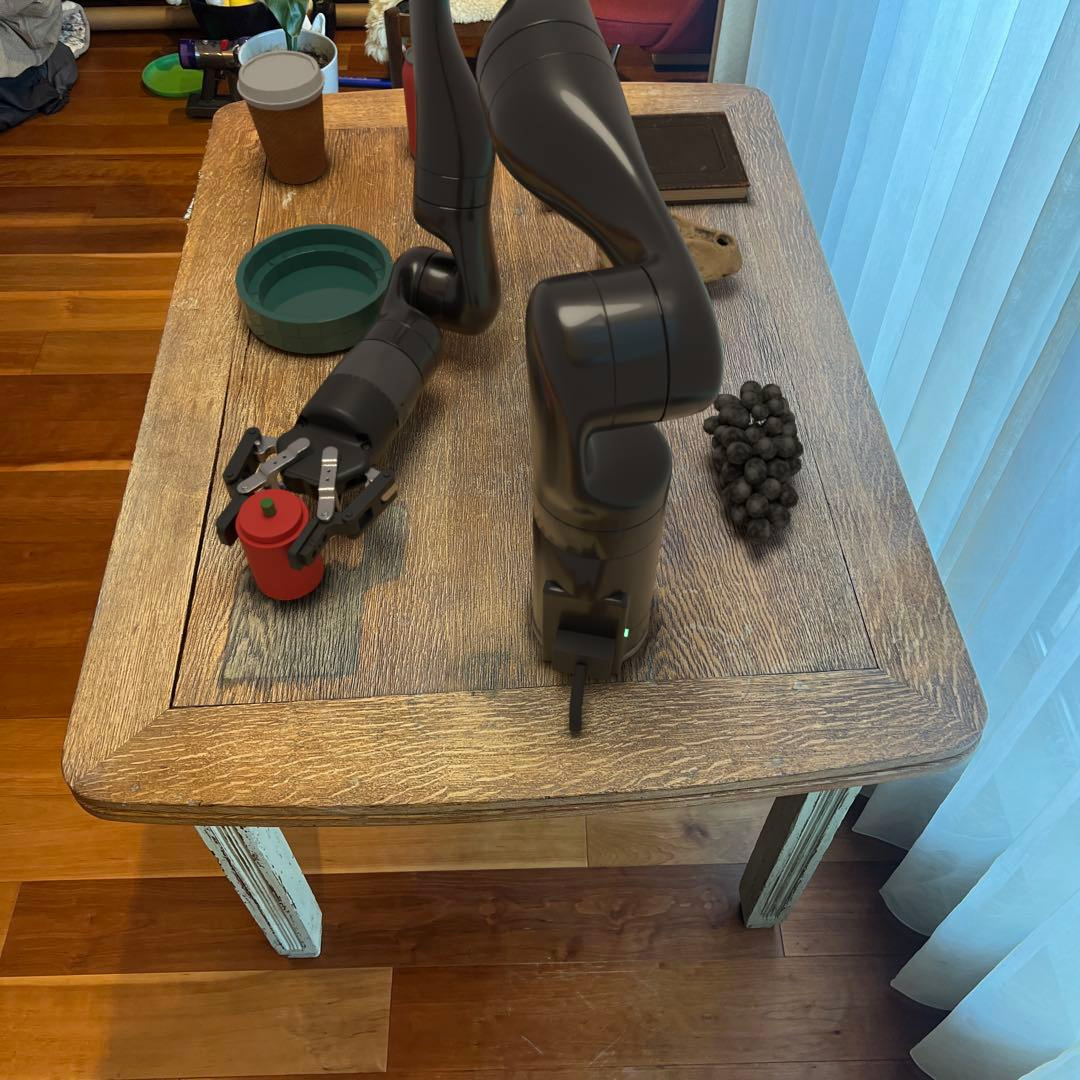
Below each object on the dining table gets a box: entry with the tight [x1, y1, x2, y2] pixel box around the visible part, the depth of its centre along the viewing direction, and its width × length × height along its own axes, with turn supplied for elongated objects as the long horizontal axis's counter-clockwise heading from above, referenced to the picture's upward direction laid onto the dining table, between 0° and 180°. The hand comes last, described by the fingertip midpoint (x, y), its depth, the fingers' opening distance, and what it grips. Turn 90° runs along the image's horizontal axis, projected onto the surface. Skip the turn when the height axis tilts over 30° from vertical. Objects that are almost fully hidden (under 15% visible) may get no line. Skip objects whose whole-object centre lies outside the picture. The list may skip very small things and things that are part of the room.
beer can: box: [401, 45, 416, 158], centre depth 118 cm, size 7×7×12 cm
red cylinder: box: [235, 489, 325, 601], centre depth 80 cm, size 6×6×9 cm
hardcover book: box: [545, 110, 751, 212], centre depth 120 cm, size 16×23×2 cm
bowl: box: [234, 223, 395, 355], centre depth 104 cm, size 16×16×4 cm
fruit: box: [702, 380, 805, 545], centre depth 87 cm, size 9×8×15 cm
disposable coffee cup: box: [236, 50, 327, 185], centre depth 116 cm, size 10×10×12 cm
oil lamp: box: [595, 212, 744, 284], centre depth 105 cm, size 11×15×8 cm
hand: (258, 550), depth 78 cm, fingers closed on red cylinder, 5 cm apart
